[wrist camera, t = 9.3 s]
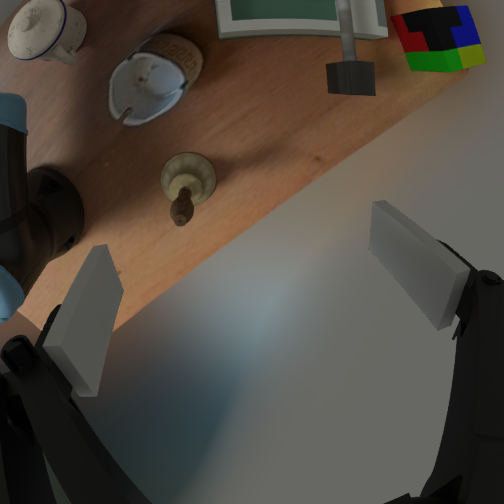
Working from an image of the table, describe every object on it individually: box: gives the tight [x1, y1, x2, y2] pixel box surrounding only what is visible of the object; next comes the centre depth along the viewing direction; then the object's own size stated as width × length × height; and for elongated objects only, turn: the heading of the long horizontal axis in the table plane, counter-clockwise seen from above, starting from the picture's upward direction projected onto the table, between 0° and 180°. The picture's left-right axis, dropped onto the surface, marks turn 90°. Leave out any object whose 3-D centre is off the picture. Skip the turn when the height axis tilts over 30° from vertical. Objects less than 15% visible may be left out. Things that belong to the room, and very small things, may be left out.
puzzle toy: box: [391, 6, 486, 73], centre depth 32 cm, size 10×10×10 cm
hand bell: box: [160, 152, 216, 226], centre depth 37 cm, size 8×8×16 cm
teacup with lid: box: [8, 0, 87, 65], centre depth 25 cm, size 12×9×12 cm
